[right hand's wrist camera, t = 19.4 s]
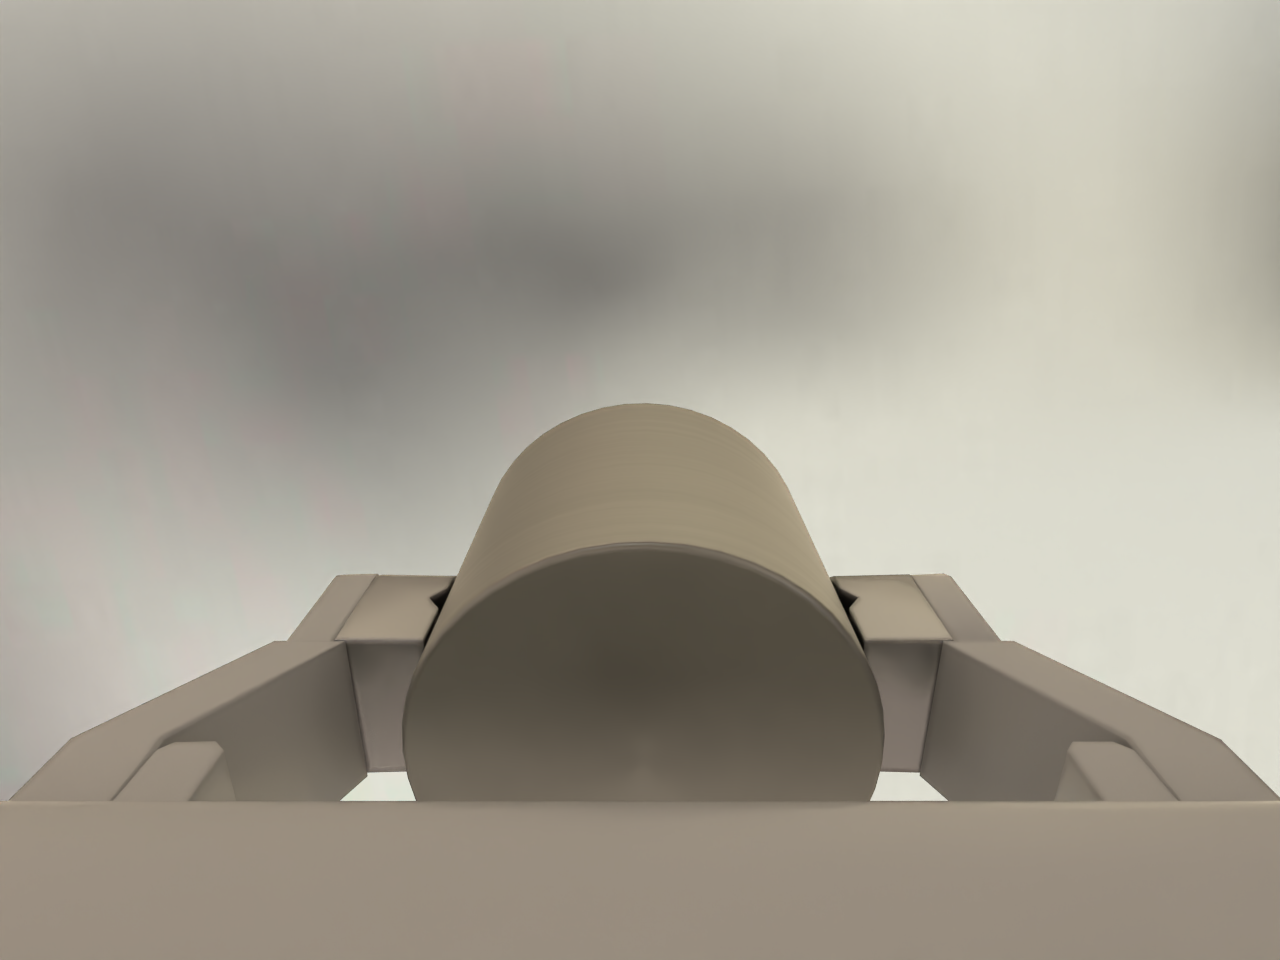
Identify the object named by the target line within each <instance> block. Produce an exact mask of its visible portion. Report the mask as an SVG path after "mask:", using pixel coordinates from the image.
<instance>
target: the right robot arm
mask: <svg viewBox="0 0 1280 960" xmlns="http://www.w3.org/2000/svg"><path fill="white" fill-rule="evenodd" d="M456 577H457V576H429V575H378V574H350V575H338V576H336V577H335V578H334V579H333V581H332V582H331V583H330V585H329V586H328V587H327V589H326V590H325V591H324V593H323V594H322V595H321V597H320V598H319V599H318V600H317V602H316V603H315V604H314V606H313V607H312V608H311V610H310V611H309V612H308V614H307V615H306V616H305V618H304V619H303V620H302V622H301V623H300V624H299V626H298V627H297V628H296V630H295V631H294V632H293V634H292V635H291V636H290V638H289V639H288V640H287V641H274V642H271V643H269V644H267V645H265V646H263V647H261V648H259V649H257V650H255V651H253V652H251V653H248V654H246V655H244V656H242V657H240V658H238V659H236V660H234V661H232V662H230V663H228V664H225V665H223V666H221V667H219V668H217V669H215V670H213V671H211V672H209V673H207V674H205V675H203V676H200V677H198V678H196V679H194V680H192V681H190V682H188V683H186V684H184V685H182V686H180V687H177V688H175V689H173V690H171V691H169V692H167V693H165V694H163V695H161V696H159V697H157V698H154V699H152V700H150V701H148V702H146V703H144V704H142V705H140V706H138V707H136V708H134V709H131V710H129V711H127V712H125V713H123V714H121V715H119V716H117V717H115V718H113V719H111V720H108V721H106V722H104V723H102V724H100V725H98V726H96V727H94V728H92V729H90V730H88V731H85V732H83V733H81V734H79V735H77V736H75V737H73V738H71V739H70V740H69V741H68V742H67V743H66V744H65V745H64V746H63V747H62V748H61V749H60V750H59V751H58V752H57V753H56V754H55V755H54V756H53V757H52V758H51V759H50V760H49V761H48V762H47V763H46V764H45V765H44V766H43V767H42V768H41V769H40V770H39V771H38V772H37V773H36V774H35V775H34V776H33V777H32V778H31V779H30V780H29V781H28V782H27V783H26V784H25V785H24V786H23V787H22V788H21V789H20V790H19V791H18V792H17V793H16V794H15V795H14V796H13V797H12V798H11V799H10V800H9V801H0V960H1280V797H1279V796H1278V795H1277V794H1276V793H1275V792H1274V791H1273V790H1271V789H1270V788H1269V787H1268V786H1267V785H1266V784H1265V783H1264V782H1263V781H1262V780H1261V779H1260V778H1259V777H1258V776H1257V775H1256V774H1255V773H1254V772H1253V771H1252V770H1251V769H1250V768H1249V767H1248V766H1247V765H1246V764H1245V763H1244V762H1243V761H1242V760H1241V759H1240V758H1239V757H1238V756H1237V755H1236V754H1235V753H1234V752H1233V751H1232V750H1231V749H1230V748H1229V747H1228V746H1227V745H1226V744H1225V743H1224V742H1223V741H1222V740H1221V739H1219V738H1216V737H1214V736H1212V735H1210V734H1208V733H1206V732H1204V731H1202V730H1200V729H1198V728H1195V727H1193V726H1191V725H1189V724H1187V723H1185V722H1183V721H1181V720H1179V719H1177V718H1174V717H1172V716H1170V715H1168V714H1166V713H1164V712H1162V711H1160V710H1158V709H1155V708H1153V707H1151V706H1149V705H1147V704H1145V703H1143V702H1141V701H1139V700H1137V699H1134V698H1132V697H1130V696H1128V695H1126V694H1124V693H1122V692H1120V691H1118V690H1116V689H1113V688H1111V687H1109V686H1107V685H1105V684H1103V683H1101V682H1099V681H1097V680H1094V679H1092V678H1090V677H1088V676H1086V675H1084V674H1082V673H1080V672H1078V671H1076V670H1073V669H1071V668H1069V667H1067V666H1065V665H1063V664H1061V663H1059V662H1057V661H1055V660H1052V659H1050V658H1048V657H1046V656H1044V655H1042V654H1040V653H1038V652H1036V651H1033V650H1031V649H1029V648H1027V647H1025V646H1023V645H1021V644H1019V643H1017V642H1015V641H1001V640H1000V639H999V638H998V636H997V635H996V634H995V632H994V631H993V630H992V629H991V627H990V626H989V625H988V623H987V622H986V621H985V620H984V618H983V617H982V616H981V614H980V613H979V612H978V611H977V609H976V608H975V607H974V605H973V604H972V603H971V602H970V600H969V599H968V598H967V596H966V595H965V594H964V593H963V591H962V590H961V589H960V587H959V586H958V585H957V584H956V582H955V581H954V580H953V578H952V577H951V576H948V575H946V574H923V575H910V574H907V575H865V576H833V577H830V580H831V582H832V585H833V587H834V589H835V591H836V593H837V595H838V598H839V600H840V602H841V604H842V606H843V608H844V611H845V613H846V615H847V617H848V619H849V621H850V623H851V626H852V628H853V630H854V632H855V634H856V636H857V639H858V641H859V643H860V645H861V647H862V649H863V652H864V654H865V656H866V658H867V660H868V663H869V665H870V668H871V670H872V672H873V675H874V677H875V680H876V682H877V685H878V689H879V693H880V698H881V702H882V706H883V713H884V728H885V740H884V749H883V759H882V765H881V769H880V771H885V772H920V776H921V777H922V778H923V779H924V780H925V781H927V782H928V783H929V784H930V785H931V786H932V787H933V788H935V789H936V790H937V791H938V792H939V793H940V794H941V795H942V796H944V797H945V798H946V799H947V800H948V801H340V800H341V799H342V798H343V797H344V796H346V795H347V794H348V793H349V792H350V791H351V790H352V789H354V788H355V787H356V786H357V785H358V784H359V783H360V782H361V781H363V780H364V779H365V778H366V777H367V772H401V771H407V770H406V765H405V760H404V755H403V746H402V720H403V713H404V706H405V699H406V696H407V692H408V689H409V686H410V683H411V680H412V676H413V673H414V671H415V669H416V667H417V664H418V662H419V660H420V658H421V655H422V653H423V651H424V649H425V646H426V644H427V642H428V640H429V638H430V635H431V633H432V631H433V629H434V626H435V624H436V622H437V620H438V617H439V615H440V613H441V611H442V609H443V606H444V604H445V602H446V600H447V597H448V595H449V593H450V591H451V588H452V586H453V584H454V582H455V579H456Z"/></svg>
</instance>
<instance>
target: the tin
mask: <svg viewBox="0 0 1280 960" xmlns="http://www.w3.org/2000/svg"><path fill="white" fill-rule="evenodd" d="M884 740H885V728H884V713H883V706H882V702H881V698H880V693H879V689H878V685H877V682H876V680H875V677H874V675H873V672H872V670H871V668H870V665H869V663H868V660H867V658H866V656H865V654H864V652H863V649H862V647H861V645H860V643H859V641H858V639H857V636H856V634H855V632H854V630H853V628H852V626H851V623H850V621H849V619H848V617H847V615H846V613H845V611H844V608H843V606H842V604H841V602H840V600H839V598H838V595H837V593H836V591H835V589H834V587H833V585H832V582H831V580H830V578H829V576H828V574H827V572H826V569H825V567H824V565H823V563H822V561H821V559H820V556H819V554H818V552H817V550H816V548H815V546H814V543H813V541H812V539H811V537H810V535H809V533H808V531H807V528H806V526H805V524H804V522H803V520H802V518H801V515H800V513H799V511H798V509H797V507H796V505H795V502H794V500H793V498H792V496H791V494H790V492H789V489H788V487H787V485H786V484H785V482H784V480H783V479H782V477H781V475H780V474H779V472H778V471H777V469H776V468H775V467H774V465H773V464H772V463H771V462H770V460H769V459H768V458H767V457H766V456H765V454H764V453H763V452H762V451H760V450H759V449H758V448H757V447H756V446H755V445H754V444H753V443H752V442H751V441H750V440H748V439H747V438H746V437H744V436H743V435H741V434H740V433H738V432H737V431H736V430H734V429H733V428H731V427H729V426H727V425H725V424H723V423H722V422H720V421H718V420H716V419H714V418H712V417H709V416H706V415H703V414H701V413H698V412H695V411H692V410H688V409H684V408H679V407H675V406H670V405H660V404H649V403H642V404H622V405H616V406H610V407H604V408H600V409H597V410H593V411H590V412H587V413H583V414H580V415H578V416H576V417H574V418H571V419H569V420H567V421H565V422H562V423H560V424H559V425H557V426H556V427H554V428H552V429H551V430H549V431H547V432H546V433H544V434H543V435H541V436H540V437H539V438H538V439H537V440H535V441H534V442H533V443H532V444H530V445H529V446H528V447H527V448H526V449H525V450H524V451H523V452H522V453H521V454H520V455H519V456H518V458H517V459H516V460H515V461H514V462H513V463H512V464H511V466H510V467H509V469H508V470H507V472H506V473H505V475H504V476H503V477H502V479H501V481H500V483H499V485H498V487H497V489H496V491H495V493H494V495H493V497H492V499H491V501H490V504H489V506H488V508H487V510H486V513H485V515H484V517H483V519H482V521H481V524H480V526H479V528H478V530H477V533H476V535H475V537H474V539H473V542H472V544H471V546H470V548H469V550H468V553H467V555H466V557H465V559H464V562H463V564H462V566H461V568H460V571H459V573H458V575H457V577H456V579H455V582H454V584H453V586H452V588H451V591H450V593H449V595H448V597H447V600H446V602H445V604H444V606H443V609H442V611H441V613H440V615H439V617H438V620H437V622H436V624H435V626H434V629H433V631H432V633H431V635H430V638H429V640H428V642H427V644H426V646H425V649H424V651H423V653H422V655H421V658H420V660H419V662H418V664H417V667H416V669H415V671H414V673H413V676H412V680H411V683H410V686H409V689H408V692H407V696H406V699H405V706H404V713H403V720H402V746H403V755H404V760H405V765H406V770H407V775H408V779H409V782H410V785H411V788H412V791H413V793H414V796H415V799H416V801H870V799H871V797H872V795H873V792H874V790H875V787H876V784H877V780H878V776H879V772H880V769H881V765H882V759H883V749H884Z"/></svg>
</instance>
